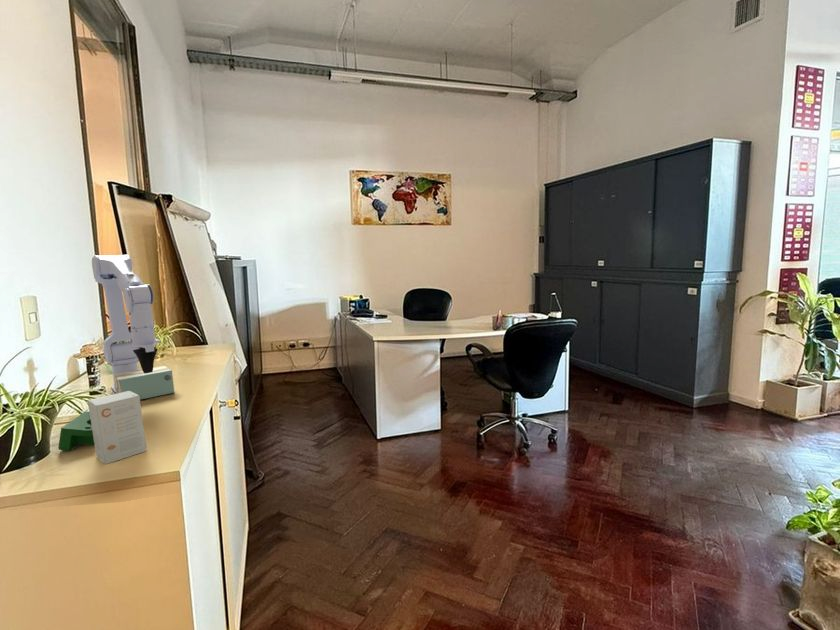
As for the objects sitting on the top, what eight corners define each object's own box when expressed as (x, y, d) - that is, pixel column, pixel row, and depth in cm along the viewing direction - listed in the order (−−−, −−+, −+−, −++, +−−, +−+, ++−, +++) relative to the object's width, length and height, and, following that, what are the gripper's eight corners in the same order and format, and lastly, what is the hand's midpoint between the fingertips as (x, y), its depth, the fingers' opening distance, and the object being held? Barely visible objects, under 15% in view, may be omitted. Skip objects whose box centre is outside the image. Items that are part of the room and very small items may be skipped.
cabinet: (117, 395, 140) (114, 374, 139) (166, 385, 149) (164, 365, 148) (122, 403, 133) (119, 380, 132) (174, 392, 142) (171, 371, 141)
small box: (137, 444, 103) (130, 389, 101) (147, 451, 98) (140, 394, 97) (95, 457, 96) (87, 399, 95) (104, 465, 92) (95, 405, 91)
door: (123, 402, 132) (120, 378, 131) (173, 391, 142) (170, 369, 140) (124, 403, 131) (121, 380, 130) (174, 392, 140) (172, 370, 139)
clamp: (90, 465, 102) (88, 436, 98) (60, 462, 101) (56, 433, 97) (113, 427, 113) (112, 400, 109) (86, 425, 111) (84, 397, 107)
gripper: (163, 327, 126) (169, 374, 128) (152, 322, 136) (157, 365, 138) (134, 331, 121) (141, 379, 123) (125, 325, 132) (131, 370, 134)
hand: (148, 372), depth 130 cm, fingers closed
